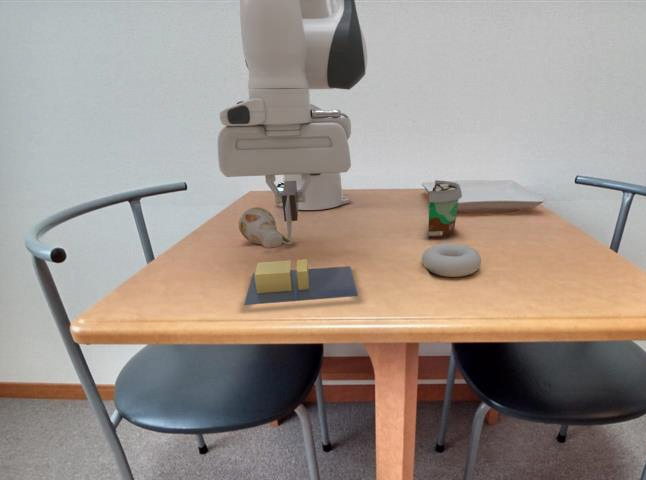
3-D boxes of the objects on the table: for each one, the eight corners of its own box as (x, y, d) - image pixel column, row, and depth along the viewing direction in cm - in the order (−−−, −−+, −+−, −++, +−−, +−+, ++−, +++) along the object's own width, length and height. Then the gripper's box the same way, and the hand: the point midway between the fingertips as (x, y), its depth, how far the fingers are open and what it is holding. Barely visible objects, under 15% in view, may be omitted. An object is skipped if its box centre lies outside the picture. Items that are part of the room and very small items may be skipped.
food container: (457, 243, 87) (461, 192, 82) (427, 241, 88) (429, 191, 83) (460, 225, 97) (463, 180, 93) (433, 224, 99) (435, 179, 94)
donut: (411, 273, 73) (466, 284, 68) (411, 254, 71) (468, 263, 66) (436, 256, 80) (488, 264, 75) (437, 238, 79) (490, 245, 74)
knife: (287, 204, 77) (284, 181, 75) (298, 203, 77) (296, 180, 76) (281, 239, 58) (278, 209, 57) (296, 238, 59) (293, 209, 57)
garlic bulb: (262, 258, 80) (236, 209, 79) (255, 264, 89) (231, 220, 88) (298, 241, 83) (272, 193, 82) (287, 249, 92) (264, 206, 91)
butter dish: (253, 278, 71) (250, 255, 69) (350, 271, 73) (349, 249, 72) (244, 311, 60) (240, 285, 59) (358, 302, 63) (357, 276, 61)
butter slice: (299, 277, 69) (297, 259, 67) (308, 276, 69) (307, 259, 68) (298, 290, 64) (296, 271, 63) (308, 289, 64) (307, 270, 63)
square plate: (510, 191, 130) (512, 178, 128) (544, 215, 105) (547, 199, 103) (420, 193, 129) (421, 179, 127) (433, 217, 104) (434, 201, 102)
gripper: (348, 108, 70) (351, 195, 75) (215, 111, 67) (230, 200, 73) (352, 110, 64) (355, 203, 70) (207, 112, 61) (224, 209, 67)
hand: (290, 202), depth 71 cm, fingers closed on knife, 2 cm apart
